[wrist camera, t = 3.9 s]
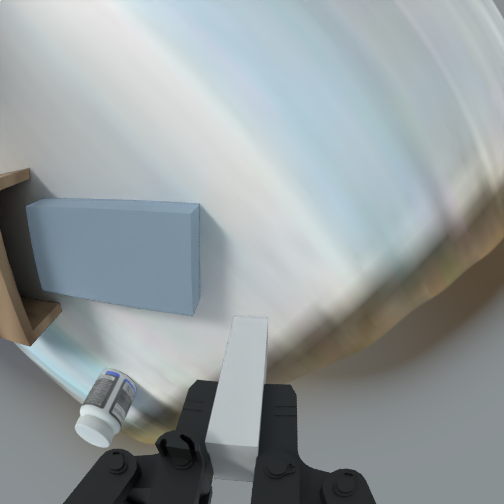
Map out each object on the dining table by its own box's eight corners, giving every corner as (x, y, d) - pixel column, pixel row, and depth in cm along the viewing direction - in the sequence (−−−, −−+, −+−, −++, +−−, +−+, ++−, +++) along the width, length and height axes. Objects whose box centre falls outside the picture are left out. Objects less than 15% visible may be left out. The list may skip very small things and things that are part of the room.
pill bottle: (97, 381, 32) (69, 432, 24) (105, 361, 30) (73, 416, 22) (131, 401, 32) (108, 454, 25) (142, 382, 31) (116, 441, 23)
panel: (58, 275, 26) (42, 289, 24) (46, 196, 23) (25, 206, 20) (201, 295, 26) (192, 315, 23) (200, 202, 23) (190, 213, 20)
